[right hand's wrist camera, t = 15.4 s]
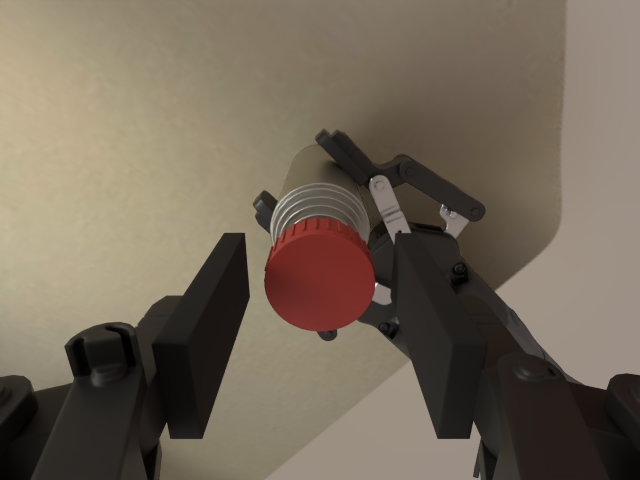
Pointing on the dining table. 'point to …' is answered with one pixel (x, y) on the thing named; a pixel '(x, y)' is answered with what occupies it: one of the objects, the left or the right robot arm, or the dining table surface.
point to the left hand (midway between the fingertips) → (289, 167)
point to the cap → (320, 275)
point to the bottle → (319, 195)
